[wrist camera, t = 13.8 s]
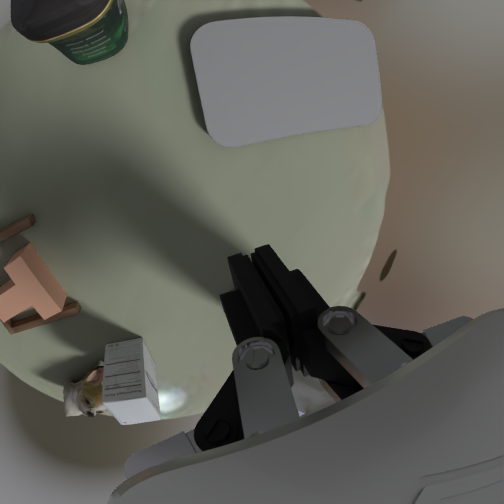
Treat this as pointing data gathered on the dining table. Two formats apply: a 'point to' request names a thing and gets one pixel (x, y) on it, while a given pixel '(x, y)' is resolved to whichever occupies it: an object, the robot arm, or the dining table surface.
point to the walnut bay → (37, 319)
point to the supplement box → (130, 382)
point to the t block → (30, 286)
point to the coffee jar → (74, 26)
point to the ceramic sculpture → (85, 394)
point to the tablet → (284, 77)
